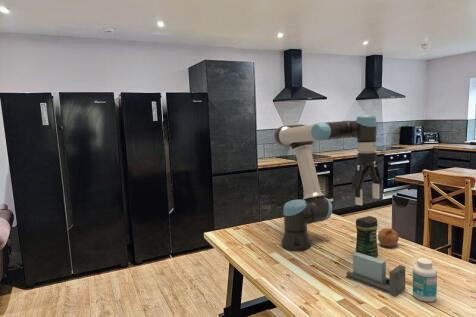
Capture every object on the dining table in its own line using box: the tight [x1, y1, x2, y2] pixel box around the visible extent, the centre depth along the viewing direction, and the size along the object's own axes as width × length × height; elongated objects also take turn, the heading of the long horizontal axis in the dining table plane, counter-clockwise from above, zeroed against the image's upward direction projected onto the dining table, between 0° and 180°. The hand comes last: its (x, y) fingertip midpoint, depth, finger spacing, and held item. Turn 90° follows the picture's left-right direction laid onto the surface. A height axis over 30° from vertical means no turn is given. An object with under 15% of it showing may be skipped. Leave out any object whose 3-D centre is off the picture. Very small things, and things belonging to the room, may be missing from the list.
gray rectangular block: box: [352, 252, 387, 284], centre depth 125 cm, size 12×3×9 cm, turn 38°
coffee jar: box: [355, 215, 379, 258], centre depth 148 cm, size 10×8×19 cm
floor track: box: [345, 264, 406, 297], centre depth 124 cm, size 20×8×9 cm, turn 38°
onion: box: [377, 227, 400, 248], centre depth 158 cm, size 10×9×10 cm
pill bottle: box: [412, 257, 438, 303], centre depth 112 cm, size 8×7×14 cm
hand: (367, 201), depth 135 cm, fingers open, 13 cm apart
